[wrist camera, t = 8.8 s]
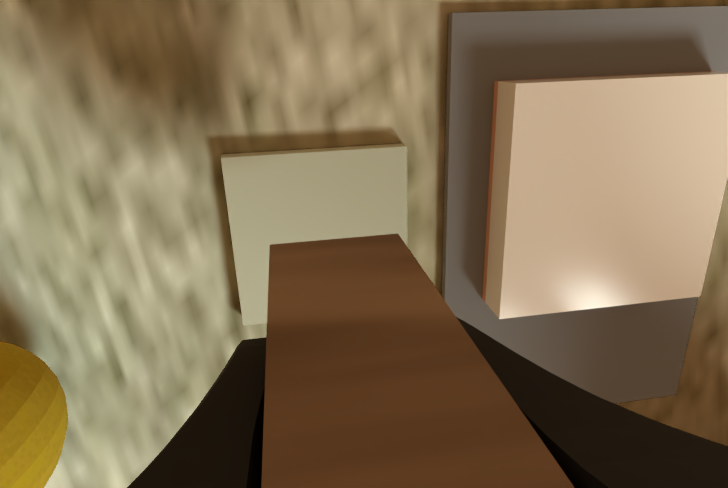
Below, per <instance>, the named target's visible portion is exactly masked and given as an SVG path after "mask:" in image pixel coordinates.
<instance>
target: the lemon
mask: <svg viewBox="0 0 728 488" xmlns="http://www.w3.org/2000/svg"><path fill="white" fill-rule="evenodd" d="M67 424H68V413H67V405H66V397H65V394H64V391H63V389H62V387H61V385H60V383H59V380H58V378H57V376H56V375H55V374H54V373H53V372H52V371H51V369H50V368H49V367H48V366H47V365H46V363H45V362H44V361H42V360H41V359H40V358H38V357H37V356H35V355H34V354H33V353H31V352H29V351H27V350H25V349H23V348H21V347H19V346H16V345H14V344H10V343H6V342H2V341H0V488H44V486H45V485H46V483H47V481H48V480H49V478H50V476H51V475H52V473H53V471H54V469H55V467H56V465H57V463H58V460H59V458H60V455H61V452H62V448H63V444H64V439H65V435H66V430H67Z"/></svg>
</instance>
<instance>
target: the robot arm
mask: <svg viewBox="0 0 728 488" xmlns="http://www.w3.org/2000/svg"><path fill="white" fill-rule="evenodd" d="M456 318H457V317H456ZM457 319H458V321H459V322H460V323H461V325H462V326H463V328H464V329H465V331H466V332H467V334H468V335H469V336H470V338H471V339H472V341H473V342H474V344H475V345H476V347H477V348H478V349H479V351H480V352H481V354H482V355H483V357H484V358H485V359H486V361H487V362H488V364H489V365H490V367H491V368H492V370H493V371H494V372H495V374H496V375H497V377H498V378H499V380H500V381H501V382H502V384H503V385H504V387H505V388H506V390H507V391H508V393H509V394H510V395H511V397H512V398H513V400H514V401H515V403H516V404H517V405H518V407H519V408H520V410H521V411H522V413H523V414H524V416H525V417H526V418H527V420H528V421H529V423H530V424H531V426H532V427H533V429H534V430H535V431H536V433H537V434H538V436H539V437H540V439H541V440H542V441H543V443H544V444H545V446H546V447H547V449H548V450H549V452H550V453H551V454H552V456H553V457H554V459H555V460H556V462H557V463H558V464H559V466H560V467H561V469H562V470H563V472H564V473H565V475H566V476H567V477H568V479H569V480H570V482H571V483H572V485H573V486H574V488H728V446H725V445H722V444H719V443H716V442H713V441H710V440H707V439H704V438H701V437H698V436H696V435H693V434H690V433H687V432H684V431H681V430H679V429H676V428H673V427H670V426H667V425H665V424H662V423H660V422H657V421H654V420H652V419H649V418H647V417H644V416H642V415H639V414H637V413H635V412H632V411H630V410H628V409H625V408H623V407H621V406H618V405H616V404H614V403H612V402H609V401H607V400H605V399H602V398H600V397H598V396H596V395H594V394H592V393H590V392H588V391H585V390H583V389H581V388H579V387H578V386H576V385H574V384H572V383H570V382H568V381H566V380H564V379H562V378H560V377H558V376H556V375H554V374H553V373H551V372H549V371H547V370H545V369H543V368H542V367H540V366H538V365H536V364H535V363H533V362H531V361H529V360H528V359H526V358H524V357H523V356H521V355H519V354H517V353H516V352H514V351H512V350H511V349H509V348H507V347H506V346H504V345H503V344H501V343H499V342H498V341H496V340H494V339H493V338H491V337H490V336H488V335H486V334H485V333H483V332H481V331H480V330H478V329H477V328H475V327H473V326H472V325H470V324H468V323H467V322H465V321H463V320H461V319H459V318H457ZM265 367H266V338H258V339H249V340H243V341H242V342H241V343H240V344H239V345H238V346H237V348H236V349H235V351H234V353H233V355H232V356H231V358H230V360H229V361H228V363H227V364H226V366H225V368H224V369H223V371H222V372H221V374H220V375H219V377H218V378H217V380H216V381H215V383H214V384H213V386H212V387H211V389H210V390H209V391H208V393H207V394H206V396H205V397H204V398H203V400H202V401H201V403H200V404H199V405H198V407H197V408H196V409H195V411H194V412H193V413H192V415H191V416H190V417H189V418H188V420H187V421H186V422H185V423H184V425H183V426H182V427H181V428H180V430H179V431H178V432H177V433H176V434H175V436H174V437H173V438H172V439H171V441H170V442H169V443H168V444H167V445H166V447H165V448H164V449H163V450H162V451H161V452H160V453H159V455H158V456H157V457H156V458H155V459H154V460H153V461H152V462H151V463H150V465H149V466H148V467H147V468H146V469H145V470H144V471H143V472H142V473H141V474H140V475H139V476H138V477H137V478H136V479H135V480H134V481H133V482H132V483H131V484H130V485H129V486H128V487H127V488H261V484H262V455H263V426H264V396H265Z"/></svg>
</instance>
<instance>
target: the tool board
mask: <svg viewBox="0 0 728 488" xmlns="http://www.w3.org/2000/svg"><path fill="white" fill-rule="evenodd" d="M221 164H222V171H223V179H224V186H225V194H226V201H227V209H228V216H229V223H230V231H231V238H232V246H233V253H234V261H235V268H236V276H237V283H238V291H239V298H240V305H241V313H242V320H243V326H244V325H254V324H263V323H267V309H268V280H269V250H270V245H271V244H282V243H294V242H306V241H317V240H329V239H340V238H352V237H363V236H375V235H386V234H399V236H400V237H401V239H402V240H403V241H404V243H405V244H406V246H407V146H406V145H405V144H403V143H400V144H384V145H367V146H351V147H335V148H319V149H302V150H286V151H270V152H253V153H237V154H223V155H222V156H221Z"/></svg>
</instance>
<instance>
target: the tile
mask: <svg viewBox="0 0 728 488" xmlns="http://www.w3.org/2000/svg"><path fill="white" fill-rule="evenodd" d="M727 178H728V72H719V71H705V72H683V73H661V74H639V75H616V76H594V77H572V78H550V79H527V80H505V81H495V83H494V100H493V118H492V136H491V154H490V172H489V190H488V207H487V225H486V243H485V261H484V279H483V296H482V299H483V300H484V302H485V303H486V304H487V305H488V306H489V308H490V309H491V310H492V311H493V312H494V314H495V315H496V316H497V317H498V318H499V319H506V318H514V317H523V316H532V315H541V314H550V313H558V312H567V311H576V310H585V309H594V308H602V307H611V306H620V305H629V304H638V303H646V302H655V301H664V300H673V299H682V298H690V297H699V296H701V293H702V288H703V284H704V279H705V275H706V271H707V266H708V262H709V257H710V253H711V249H712V244H713V240H714V235H715V231H716V227H717V222H718V218H719V213H720V209H721V204H722V200H723V196H724V191H725V187H726V182H727Z"/></svg>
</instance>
